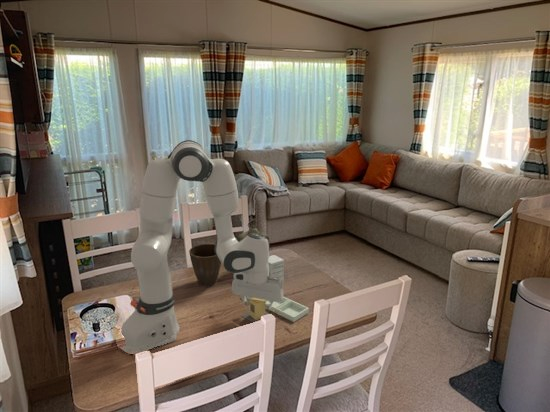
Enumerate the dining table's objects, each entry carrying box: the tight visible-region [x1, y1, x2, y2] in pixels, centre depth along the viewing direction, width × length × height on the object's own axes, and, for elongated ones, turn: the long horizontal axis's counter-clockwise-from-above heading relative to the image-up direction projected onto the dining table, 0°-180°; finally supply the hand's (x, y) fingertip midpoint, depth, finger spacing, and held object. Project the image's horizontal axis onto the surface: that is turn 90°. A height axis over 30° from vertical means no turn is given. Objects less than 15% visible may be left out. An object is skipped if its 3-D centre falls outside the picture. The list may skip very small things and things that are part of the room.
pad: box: [241, 310, 271, 323], centre depth 158 cm, size 9×9×1 cm
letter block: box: [248, 298, 266, 320], centre depth 157 cm, size 5×4×7 cm
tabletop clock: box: [236, 218, 270, 245], centre depth 198 cm, size 14×9×25 cm, turn 136°
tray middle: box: [265, 296, 291, 314], centre depth 166 cm, size 9×9×2 cm
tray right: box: [275, 299, 310, 323], centre depth 160 cm, size 9×9×2 cm
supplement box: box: [268, 254, 285, 284], centre depth 182 cm, size 7×7×13 cm
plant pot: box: [189, 243, 222, 287], centre depth 183 cm, size 15×15×16 cm
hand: (257, 307), depth 157 cm, fingers open, 8 cm apart
